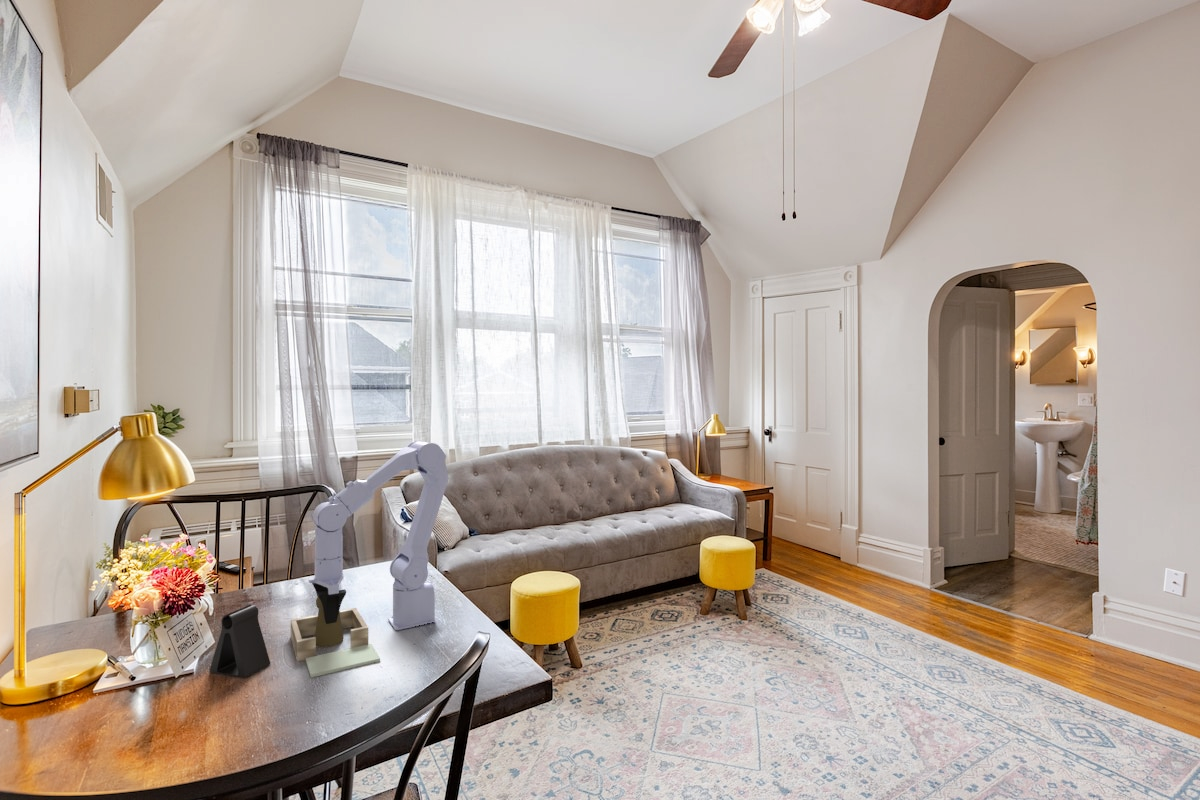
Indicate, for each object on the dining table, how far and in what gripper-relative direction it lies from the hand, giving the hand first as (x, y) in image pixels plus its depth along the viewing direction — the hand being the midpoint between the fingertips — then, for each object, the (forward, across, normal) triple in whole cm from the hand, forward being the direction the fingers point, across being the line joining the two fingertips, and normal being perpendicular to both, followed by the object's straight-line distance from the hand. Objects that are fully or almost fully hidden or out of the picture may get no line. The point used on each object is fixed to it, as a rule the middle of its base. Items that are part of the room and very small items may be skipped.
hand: (328, 617), depth 130 cm
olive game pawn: (+6, 0, 0) cm, 6 cm away
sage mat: (+6, +12, +1) cm, 13 cm away
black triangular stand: (+6, +4, -17) cm, 18 cm away
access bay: (+6, 0, 0) cm, 6 cm away
